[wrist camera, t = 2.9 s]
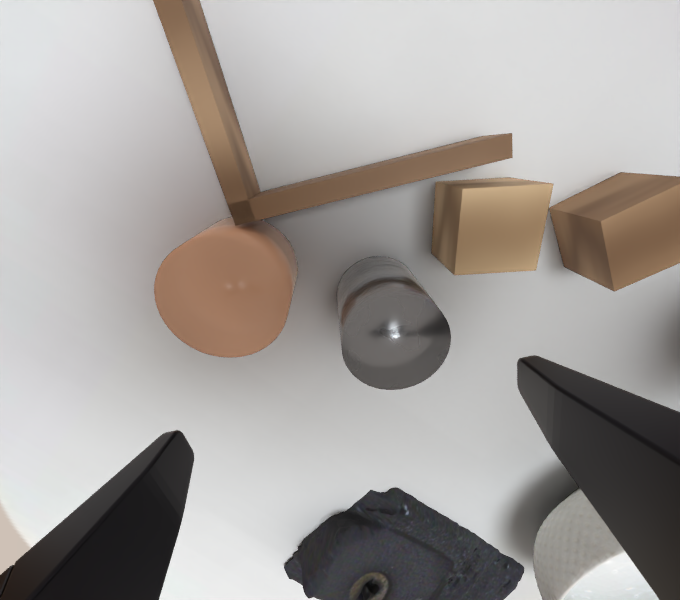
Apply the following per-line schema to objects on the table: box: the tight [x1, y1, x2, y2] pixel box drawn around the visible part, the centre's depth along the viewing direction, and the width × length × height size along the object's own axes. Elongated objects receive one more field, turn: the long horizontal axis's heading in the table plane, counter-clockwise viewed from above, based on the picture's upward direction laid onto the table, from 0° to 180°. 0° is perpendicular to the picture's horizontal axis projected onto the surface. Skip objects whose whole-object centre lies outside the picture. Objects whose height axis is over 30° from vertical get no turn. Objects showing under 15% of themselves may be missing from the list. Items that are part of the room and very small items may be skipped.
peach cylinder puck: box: [154, 217, 298, 357], centre depth 17 cm, size 6×6×5 cm
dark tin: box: [337, 256, 451, 390], centre depth 18 cm, size 5×5×6 cm
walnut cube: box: [549, 172, 680, 291], centre depth 17 cm, size 4×4×4 cm
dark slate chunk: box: [284, 488, 524, 600], centre depth 31 cm, size 15×22×5 cm
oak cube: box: [431, 178, 553, 275], centre depth 17 cm, size 4×4×4 cm
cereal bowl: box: [533, 488, 659, 600], centre depth 27 cm, size 17×17×7 cm
